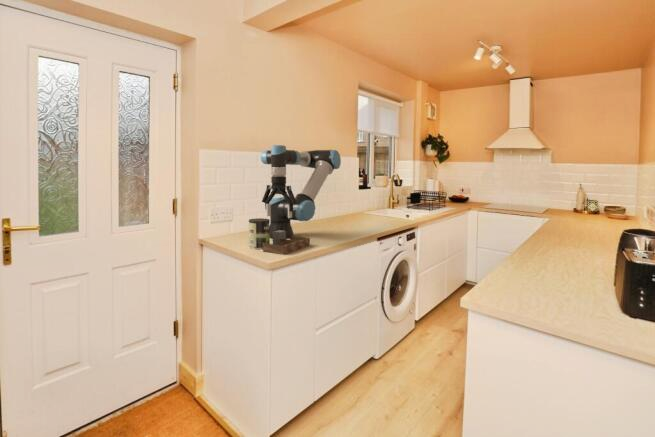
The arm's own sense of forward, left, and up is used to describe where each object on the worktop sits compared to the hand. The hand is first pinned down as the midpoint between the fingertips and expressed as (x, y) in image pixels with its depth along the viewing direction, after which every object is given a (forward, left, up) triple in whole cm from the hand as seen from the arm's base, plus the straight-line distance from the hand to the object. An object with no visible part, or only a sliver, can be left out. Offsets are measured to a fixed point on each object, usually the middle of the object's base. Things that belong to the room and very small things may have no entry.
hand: (279, 217), depth 190 cm
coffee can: (+11, -5, -15) cm, 19 cm away
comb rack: (+6, +9, -15) cm, 18 cm away
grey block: (0, 0, -15) cm, 15 cm away
